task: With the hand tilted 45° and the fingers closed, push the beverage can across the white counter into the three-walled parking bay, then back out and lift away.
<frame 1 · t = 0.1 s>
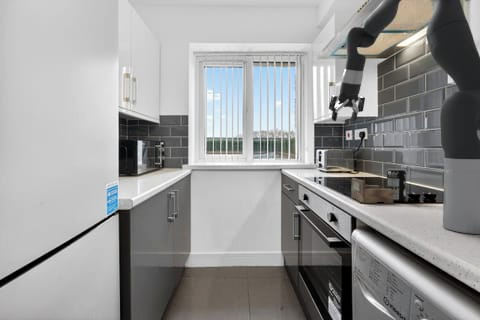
hand: (343, 120, 129), 31 cm above the countertop, tool tilted 20°, fingers open, 8 cm apart
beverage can: (395, 201, 116), on the countertop
parking bay: (372, 200, 117), on the countertop
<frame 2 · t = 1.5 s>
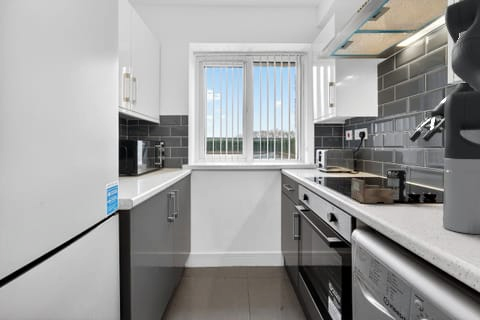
hand: (417, 140, 116), 23 cm above the countertop, tool tilted 45°, fingers open, 8 cm apart
nothing on the countertop moved.
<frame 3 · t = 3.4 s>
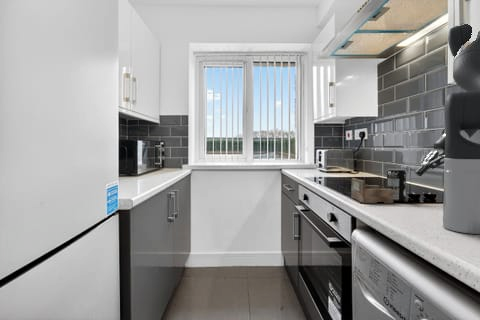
hand: (417, 174, 116), 10 cm above the countertop, tool tilted 45°, fingers closed
nothing on the countertop moved.
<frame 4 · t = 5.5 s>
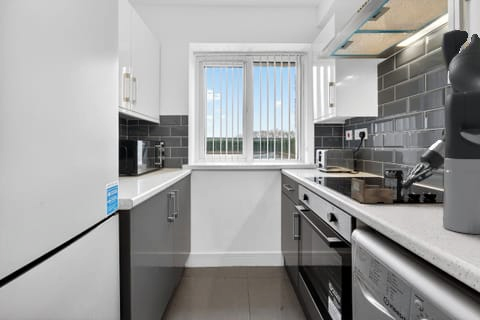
hand: (403, 187, 116), 5 cm above the countertop, tool tilted 45°, fingers closed
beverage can: (393, 200, 116), on the countertop, touching gripper
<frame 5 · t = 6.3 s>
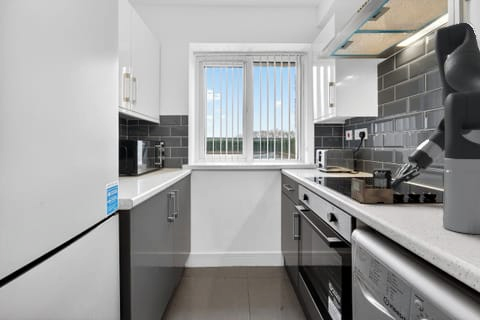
hand: (391, 187, 117), 5 cm above the countertop, tool tilted 45°, fingers closed
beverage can: (381, 200, 116), on the countertop, touching gripper
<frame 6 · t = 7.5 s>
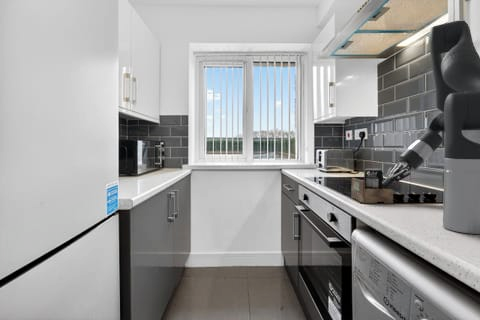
hand: (382, 187, 117), 5 cm above the countertop, tool tilted 45°, fingers closed
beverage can: (373, 200, 116), on the countertop, touching gripper
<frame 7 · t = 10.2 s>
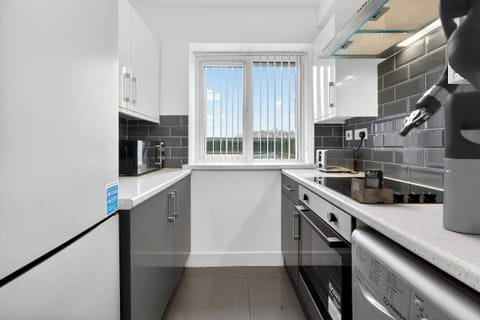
hand: (401, 135, 114), 25 cm above the countertop, tool tilted 45°, fingers closed
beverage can: (373, 201, 116), on the countertop
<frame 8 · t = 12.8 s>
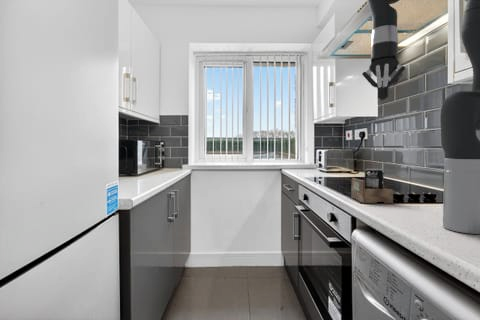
hand: (383, 99, 96), 35 cm above the countertop, tool pointing down, fingers closed
nothing on the countertop moved.
at the end: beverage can 0.6 cm from the parking bay (horizontally); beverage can tilted 0°; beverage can moved 8.6 cm from its start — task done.
